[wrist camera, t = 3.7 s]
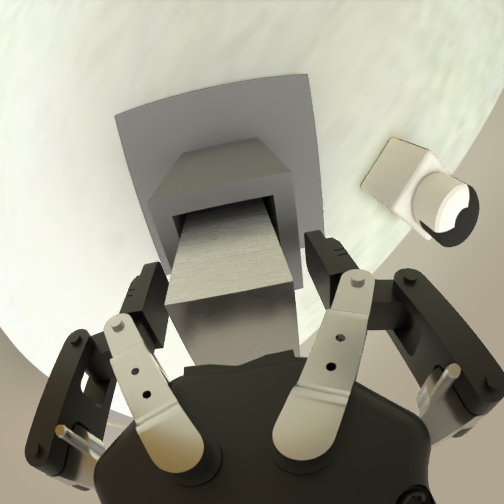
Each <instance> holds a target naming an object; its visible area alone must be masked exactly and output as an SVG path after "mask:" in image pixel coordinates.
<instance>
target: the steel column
mask: <svg viewBox="0 0 504 504" xmlns="http://www.w3.org/2000/svg"><path fill="white" fill-rule="evenodd" d="M164 306H165V308H166V310H167V312H168V314H169V316H170V318H171V320H172V322H173V324H174V326H175V328H176V330H177V332H178V334H179V336H180V338H181V340H182V341H183V343H184V345H185V347H186V349H187V351H188V353H189V355H190V356H191V358H192V360H193V362H194V364H195V365H196V366H198V365H206V364H217V365H232V366H238V365H241V364H244V363H247V362H249V361H252V360H254V359H257V358H259V357H262V356H264V355H267V354H272V353H277V352H282V351H287V350H291V349H293V351H294V354H295V357H300V351H299V350H300V349H299V336H298V324H297V313H296V302H295V292H294V282H293V279H292V276H291V273H290V270H289V268H288V265H287V262H286V260H285V257H284V254H283V252H282V249H281V247H280V244H279V241H278V239H277V236H276V233H275V231H274V228H273V226H272V223H271V221H270V218H269V215H268V213H267V210H266V208H265V205H264V203H263V200H262V198H261V197H259V198H254V199H249V200H244V201H239V202H234V203H229V204H224V205H220V206H215V207H210V208H206V209H201V210H197V211H192V212H188V213H187V216H186V219H185V223H184V226H183V230H182V234H181V238H180V241H179V245H178V249H177V253H176V257H175V261H174V265H173V269H172V273H171V278H170V282H169V286H168V291H167V295H166V300H165V304H164Z"/></svg>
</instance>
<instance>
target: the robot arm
mask: <svg viewBox="0 0 504 504" xmlns="http://www.w3.org/2000/svg"><path fill="white" fill-rule="evenodd" d="M304 242H305V254H306V264H307V268H308V272H309V274H310V276H311V278H312V280H313V283H314V285H315V287H316V289H317V291H318V294H319V296H320V298H321V300H322V303H323V305H324V307H325V309H326V312H325V315H324V318H323V320H322V323H321V326H320V328H319V331H318V334H317V336H316V339H315V342H314V344H313V347H312V349H311V352H310V354H309V357H308V358H307V357H295V354H294V351H293V349H291V350H287V351H282V352H277V353H272V354H267V355H264V356H262V357H259V358H257V359H254V360H252V361H249V362H247V363H244V364H241V365H238V366H232V365H217V364H206V365H198V366H189V367H184V375H183V376H180V377H178V378H176V379H174V380H172V381H170V379H169V378H168V376H167V375H166V373H165V371H164V370H163V368H162V367H161V365H160V363H159V362H158V360H157V358H156V357H155V355H154V350H155V349H159V348H163V347H164V341H165V335H166V329H167V323H168V318H169V314H168V312H167V310H166V308H165V306H164V304H165V300H166V295H167V291H168V286H169V282H168V280H167V277H166V275H165V273H164V270H163V268H162V265H161V263H160V262H154V263H149V264H145V265H144V266H143V269H142V272H141V274H140V276H137V277H136V278H135V279H134V280H133V281H132V282H131V284H130V287H129V289H128V292H127V294H126V297H125V299H124V302H123V305H122V307H121V310H120V313H119V314H118V315H115V316H113V317H112V318H110V319H109V320H108V321H107V323H106V324H105V326H104V331H103V332H100V333H98V334H95V335H93V336H90V334H89V333H88V331H87V330H85V329H79V330H76V331H74V332H73V333H71V334H70V335H69V336H68V338H67V339H66V341H65V343H64V345H63V347H62V349H61V351H60V354H59V356H58V358H57V360H56V363H55V365H54V367H53V370H52V372H51V374H50V377H49V379H48V382H47V384H46V387H45V389H44V392H43V394H42V397H41V400H40V403H39V405H38V408H37V411H36V414H35V417H34V420H33V423H32V426H31V429H30V432H29V436H28V439H27V443H26V447H25V457H26V460H27V461H28V463H29V464H30V465H31V466H33V467H35V468H36V469H38V470H40V471H42V472H44V473H45V474H46V475H48V476H50V477H52V478H54V479H56V480H58V481H60V482H62V483H64V484H66V485H70V486H72V487H75V488H77V489H80V490H83V491H87V490H90V489H92V490H95V491H96V492H97V494H98V497H99V499H100V502H101V504H436V502H435V500H434V498H433V496H432V494H431V492H430V489H429V484H428V464H429V457H430V451H431V449H432V448H434V447H435V446H437V445H439V444H440V443H442V442H444V441H445V440H447V439H448V438H450V437H461V436H463V435H464V434H466V433H467V432H468V431H469V430H470V429H471V428H473V426H475V425H476V424H477V423H478V422H479V421H480V420H481V419H482V418H483V417H484V416H486V414H488V413H489V412H490V411H491V410H492V409H493V408H494V407H495V406H496V405H497V403H498V402H499V401H500V400H501V399H502V398H503V397H504V372H503V371H502V369H501V367H500V366H499V365H498V363H497V362H496V360H495V359H494V358H493V356H492V355H491V354H490V353H489V351H488V350H487V348H486V347H485V346H484V344H483V343H482V342H481V340H480V339H479V338H478V337H477V335H476V334H475V333H474V332H473V330H472V329H471V328H470V327H469V325H468V324H467V323H466V322H465V321H464V319H463V318H462V317H461V316H460V315H459V313H458V312H457V311H456V310H455V309H454V308H453V307H452V305H451V304H450V303H449V302H448V301H447V300H446V299H445V298H444V296H443V295H442V294H441V293H440V292H439V291H438V290H437V289H436V288H435V287H434V286H433V285H432V283H431V282H430V281H429V280H428V279H427V278H426V277H425V276H424V275H423V274H422V273H421V272H419V271H417V270H414V269H409V268H406V269H401V270H399V271H397V272H396V273H395V275H394V280H377V279H375V278H374V276H373V275H372V274H371V273H370V272H368V271H365V270H361V269H359V268H358V266H357V265H356V263H355V262H354V261H353V259H352V258H351V256H350V255H349V254H348V252H347V251H346V250H345V249H344V247H343V246H342V244H341V243H340V242H339V241H337V240H336V239H334V238H327V239H326V238H325V236H324V235H323V234H322V232H321V231H320V230H315V231H310V232H305V233H304ZM367 330H386V331H387V333H388V334H389V336H390V338H391V339H392V341H393V342H394V344H395V346H396V347H397V349H398V350H399V352H400V354H401V355H402V357H403V359H404V360H405V362H406V364H407V365H408V367H409V368H410V370H411V372H412V374H413V375H414V377H415V379H416V381H417V382H418V384H419V386H420V388H421V389H420V391H419V393H418V396H417V404H418V407H419V412H420V415H419V417H418V416H417V415H416V414H414V413H412V412H410V411H409V410H407V409H405V408H403V407H401V406H399V405H397V404H396V403H394V402H392V401H390V400H388V399H386V398H385V397H383V396H381V395H379V394H377V393H376V392H374V391H372V390H370V389H368V388H366V387H365V386H363V385H361V384H360V383H358V382H356V378H357V374H358V370H359V366H360V362H361V357H362V353H363V349H364V345H365V340H366V335H367ZM84 372H86V373H87V374H88V376H89V378H88V381H87V384H86V387H85V390H84V393H83V392H82V390H81V380H82V378H83V375H84ZM117 381H118V384H119V386H120V388H121V391H122V393H123V396H124V398H125V400H126V403H127V405H128V407H129V409H130V411H131V414H132V416H133V418H134V420H133V421H132V422H131V423H130V425H129V426H128V427H127V428H126V429H125V430H124V431H123V432H122V433H121V435H120V436H119V437H118V438H117V439H116V440H115V441H114V442H113V444H111V446H110V447H109V448H108V449H107V450H106V451H105V446H104V444H103V437H104V432H105V428H106V423H107V419H108V414H109V410H110V406H111V402H112V398H113V394H114V390H115V387H116V383H117Z"/></svg>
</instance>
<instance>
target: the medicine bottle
mask: <svg viewBox="0 0 504 504" xmlns="http://www.w3.org/2000/svg"><path fill="white" fill-rule="evenodd" d="M361 187H362V189H364V190H365V191H366V192H368V193H369V194H370V195H372V196H373V197H374V198H376V199H377V200H378V201H380V202H381V203H382V204H383V205H385V206H386V207H387V208H389V209H390V210H391V211H392V212H394V213H395V214H396V215H397V216H399V217H400V218H401V219H402V220H404V221H405V222H406V223H407V224H409V225H410V226H411V227H412V228H413V229H415V230H416V231H417V232H418V233H419V234H420V235H422V236H423V237H424V238H425V239H427V240H430V239H431V238H432V237H433V238H434V239H435V240H436V241H437V242H439V243H440V244H441V245H442V246H444V247H453V246H456V245H459V244H461V243H462V242H464V241H465V240H466V239H467V237H468V236H469V235H470V234H471V232H472V230H473V229H474V227H475V225H476V222H477V219H478V215H479V200H478V197H477V194H476V192H475V190H474V189H473V188H472V187H471V186H469V185H468V184H466V183H464V182H462V181H460V180H458V179H457V178H455V177H453V176H452V175H451V174H450V173H449V171H448V170H447V169H446V168H445V166H444V165H443V164H442V163H441V162H440V161H439V159H438V158H437V157H436V156H435V155H434V154H433V153H432V151H430V150H428V149H426V148H423V147H420V146H418V145H415V144H412V143H409V142H406V141H403V140H400V139H397V138H394V137H393V138H391V139H390V140H389V142H388V144H387V145H386V147H385V148H384V150H383V152H382V153H381V155H380V156H379V158H378V160H377V161H376V163H375V164H374V166H373V167H372V169H371V170H370V172H369V174H368V175H367V177H366V178H365V180H364V181H363V183H362V184H361Z"/></svg>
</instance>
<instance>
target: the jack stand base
mask: <svg viewBox="0 0 504 504" xmlns="http://www.w3.org/2000/svg"><path fill="white" fill-rule="evenodd" d="M115 120H116V124H117V128H118V132H119V136H120V140H121V144H122V147H123V151H124V154H125V158H126V161H127V165H128V168H129V172H130V175H131V178H132V181H133V185H134V188H135V191H136V194H137V197H138V200H139V203H140V206H141V209H142V212H143V215H144V218H145V221H146V223H147V226H148V229H149V232H150V234H151V237H152V240H153V243H154V245H155V248H156V250H157V253H158V256H159V258H160V261H161V263H162V266H163V268H164V271H165V273H166V275H168V274H171V273H172V269H173V265H174V261H175V257H176V253H177V249H178V245H179V241H180V238H181V234H182V230H183V226H184V223H185V219H186V216H187V213H188V212H192V211H197V210H201V209H206V208H210V207H215V206H220V205H224V204H229V203H234V202H239V201H244V200H249V199H254V198H259V197H261V198H262V200H263V203H264V205H265V208H266V210H267V213H268V215H269V218H270V221H271V223H272V226H273V228H274V231H275V233H276V236H277V239H278V241H279V244H280V247H281V249H282V252H283V254H284V257H285V260H286V262H287V265H288V268H289V270H290V273H291V276H292V279H293V282H294V290H296V289H301V288H303V278H302V266H301V254H300V248H304V247H305V242H304V233H305V232H310V231H315V230H320V231H321V232H322V234H323V235H324V219H323V203H322V189H321V177H320V166H319V156H318V146H317V137H316V129H315V121H314V114H313V106H312V99H311V93H310V86H309V80H308V74H299V75H287V76H277V77H268V78H261V79H253V80H247V81H240V82H235V83H229V84H224V85H219V86H214V87H209V88H204V89H200V90H196V91H192V92H188V93H184V94H180V95H176V96H173V97H169V98H166V99H162V100H159V101H155V102H152V103H149V104H146V105H143V106H140V107H137V108H134V109H131V110H128V111H126V112H123V113H120V114H118V115H115Z"/></svg>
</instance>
